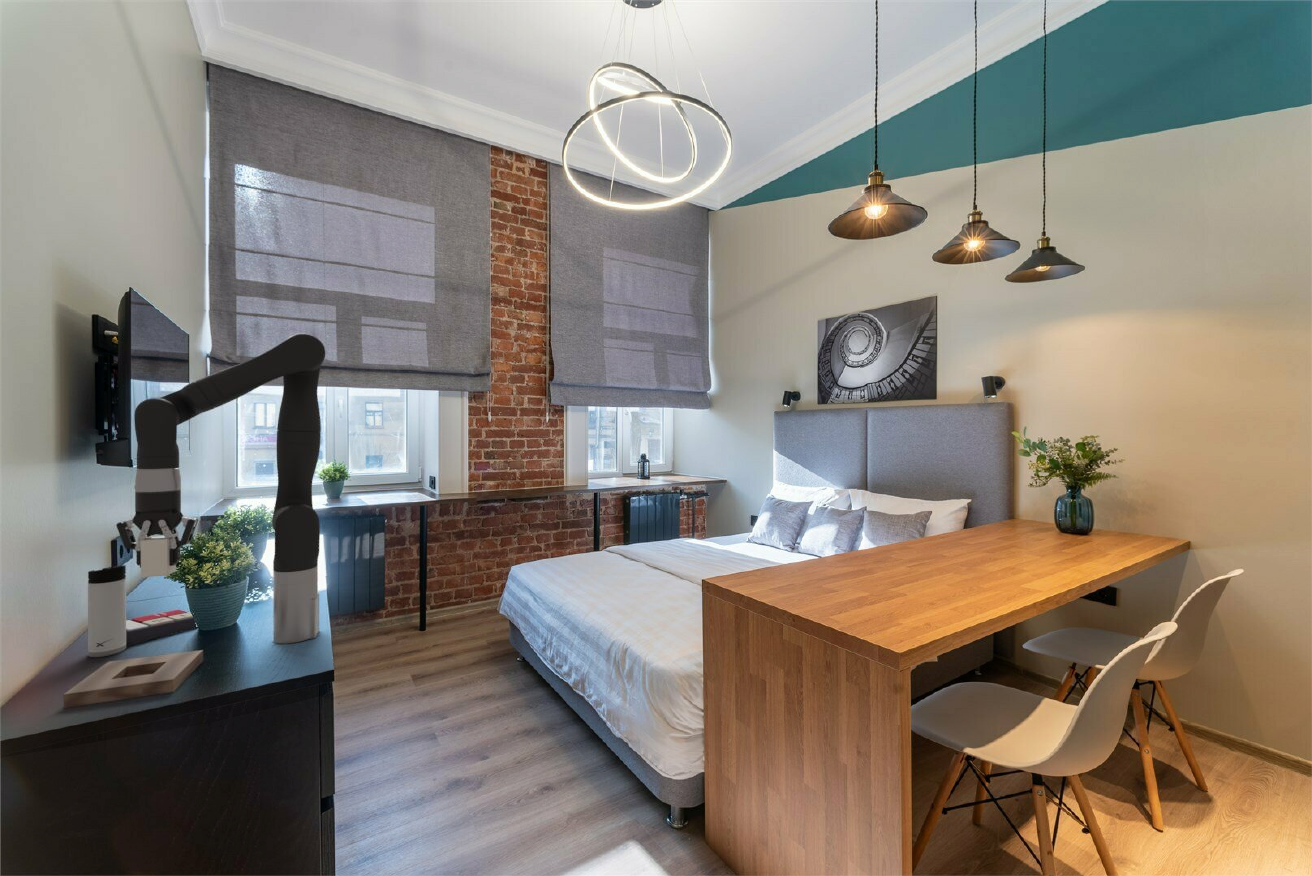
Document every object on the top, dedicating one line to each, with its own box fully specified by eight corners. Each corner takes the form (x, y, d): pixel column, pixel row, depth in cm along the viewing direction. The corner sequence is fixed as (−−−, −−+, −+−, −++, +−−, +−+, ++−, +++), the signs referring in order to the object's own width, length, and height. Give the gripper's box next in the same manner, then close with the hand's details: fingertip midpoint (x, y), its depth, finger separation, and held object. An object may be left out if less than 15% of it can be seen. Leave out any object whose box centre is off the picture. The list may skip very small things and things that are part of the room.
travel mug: (103, 658, 124) (102, 569, 124) (80, 656, 125) (80, 568, 125) (134, 648, 130) (134, 563, 130) (112, 646, 131) (112, 562, 131)
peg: (175, 570, 125) (175, 535, 125) (167, 575, 121) (167, 539, 121) (150, 572, 123) (150, 536, 123) (140, 577, 119) (140, 540, 119)
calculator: (201, 613, 145) (128, 628, 131) (200, 630, 145) (126, 646, 131) (179, 608, 150) (106, 622, 136) (178, 624, 149) (105, 639, 136)
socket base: (203, 661, 122) (203, 649, 122) (173, 691, 108) (173, 679, 108) (108, 673, 116) (108, 661, 116) (63, 707, 101) (63, 694, 101)
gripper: (204, 486, 128) (204, 559, 128) (125, 488, 123) (125, 565, 123) (192, 489, 121) (192, 566, 121) (107, 491, 116) (107, 573, 116)
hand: (158, 565), depth 122 cm, fingers closed on peg, 4 cm apart
